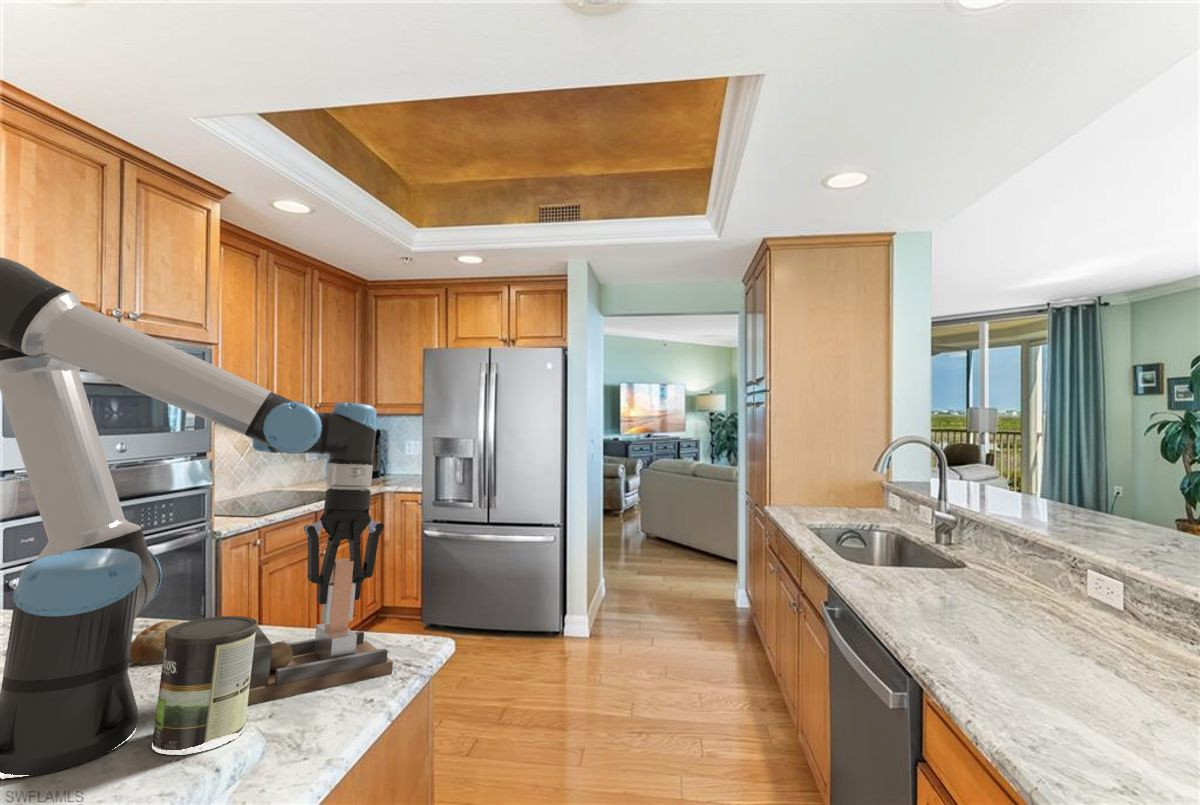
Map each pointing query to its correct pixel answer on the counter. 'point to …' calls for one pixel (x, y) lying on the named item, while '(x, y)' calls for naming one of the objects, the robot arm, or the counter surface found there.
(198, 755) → the counter surface
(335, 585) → the sliding jaw
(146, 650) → the bread roll
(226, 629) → the coffee can
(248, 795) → the counter surface
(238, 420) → the robot arm
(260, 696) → the base
